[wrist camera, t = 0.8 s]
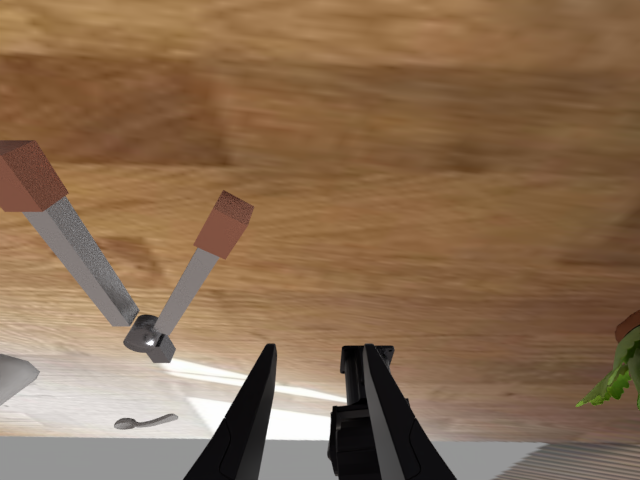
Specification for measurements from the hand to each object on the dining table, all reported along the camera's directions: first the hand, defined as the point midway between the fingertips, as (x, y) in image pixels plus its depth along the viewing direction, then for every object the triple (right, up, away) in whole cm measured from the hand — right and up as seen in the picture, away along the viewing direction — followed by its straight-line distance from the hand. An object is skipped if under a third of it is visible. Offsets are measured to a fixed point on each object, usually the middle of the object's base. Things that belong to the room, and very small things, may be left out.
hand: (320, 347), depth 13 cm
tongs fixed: (-20, +2, +14) cm, 24 cm away
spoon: (-31, -27, +37) cm, 55 cm away
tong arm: (-13, +2, +14) cm, 19 cm away
